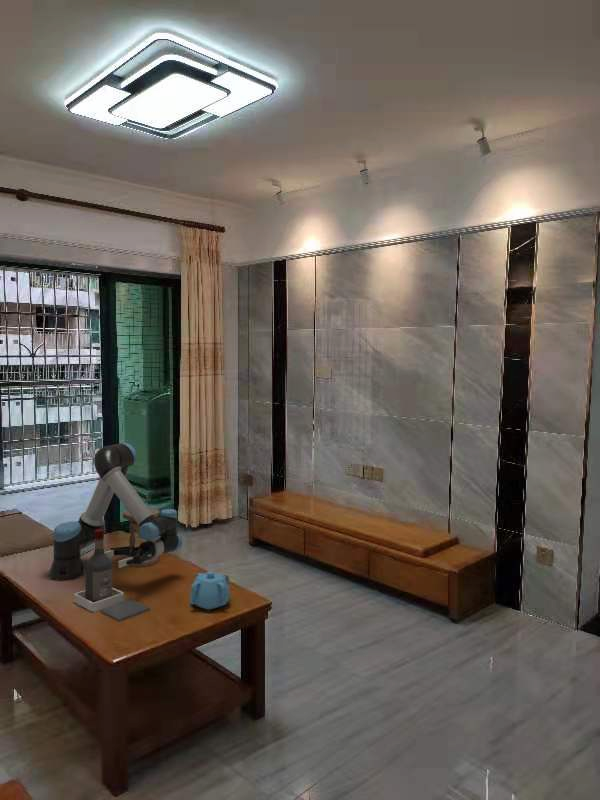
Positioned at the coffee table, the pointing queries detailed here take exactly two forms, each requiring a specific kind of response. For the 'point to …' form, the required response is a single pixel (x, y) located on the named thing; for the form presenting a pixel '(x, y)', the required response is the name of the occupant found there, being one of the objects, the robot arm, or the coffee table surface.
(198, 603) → the decorative pot
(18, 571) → the coffee table surface
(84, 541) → the robot arm
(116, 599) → the bottle holder
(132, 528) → the hourglass
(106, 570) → the liquor
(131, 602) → the slate coaster
